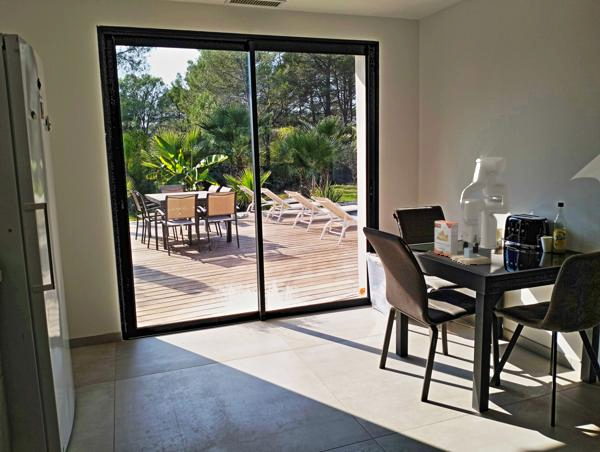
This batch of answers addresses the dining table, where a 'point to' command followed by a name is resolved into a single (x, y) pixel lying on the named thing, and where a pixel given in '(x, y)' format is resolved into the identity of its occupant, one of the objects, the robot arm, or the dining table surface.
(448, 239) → the cracker box
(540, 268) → the dining table surface
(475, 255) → the slate block
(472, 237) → the robot arm
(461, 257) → the birch base
